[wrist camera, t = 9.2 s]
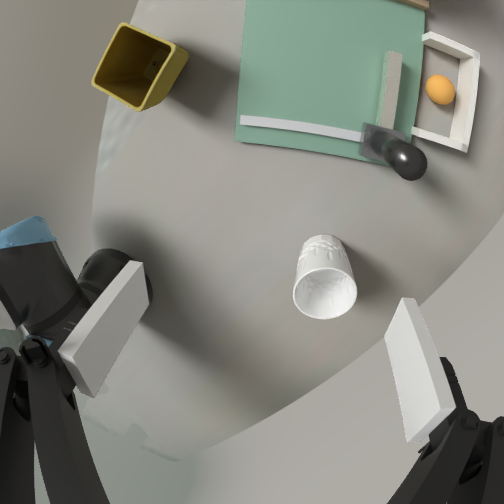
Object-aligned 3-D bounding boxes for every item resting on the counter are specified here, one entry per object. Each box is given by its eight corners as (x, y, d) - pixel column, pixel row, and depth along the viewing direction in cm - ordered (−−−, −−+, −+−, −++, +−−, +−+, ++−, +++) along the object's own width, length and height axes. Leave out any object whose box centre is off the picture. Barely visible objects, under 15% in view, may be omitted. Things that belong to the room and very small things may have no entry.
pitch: (236, 139, 37) (231, 143, 35) (251, -24, 25) (247, -31, 23) (402, 167, 35) (408, 173, 33) (421, 6, 23) (429, 1, 20)
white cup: (286, 260, 45) (280, 302, 37) (315, 220, 41) (317, 256, 33) (328, 284, 46) (331, 328, 37) (359, 247, 42) (370, 287, 33)
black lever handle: (357, 152, 33) (380, 179, 23) (370, 49, 27) (401, 29, 16) (394, 160, 33) (430, 191, 22) (409, 60, 26) (454, 48, 15)
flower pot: (127, 82, 35) (88, 84, 27) (155, 30, 31) (120, 20, 23) (172, 108, 36) (139, 113, 29) (205, 54, 32) (178, 45, 24)
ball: (426, 101, 30) (421, 97, 28) (429, 74, 28) (424, 68, 26) (453, 110, 28) (451, 106, 25) (457, 82, 26) (455, 76, 23)
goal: (407, 132, 32) (418, 136, 29) (419, 36, 25) (430, 31, 22) (453, 146, 32) (466, 152, 28) (465, 55, 25) (480, 53, 21)
